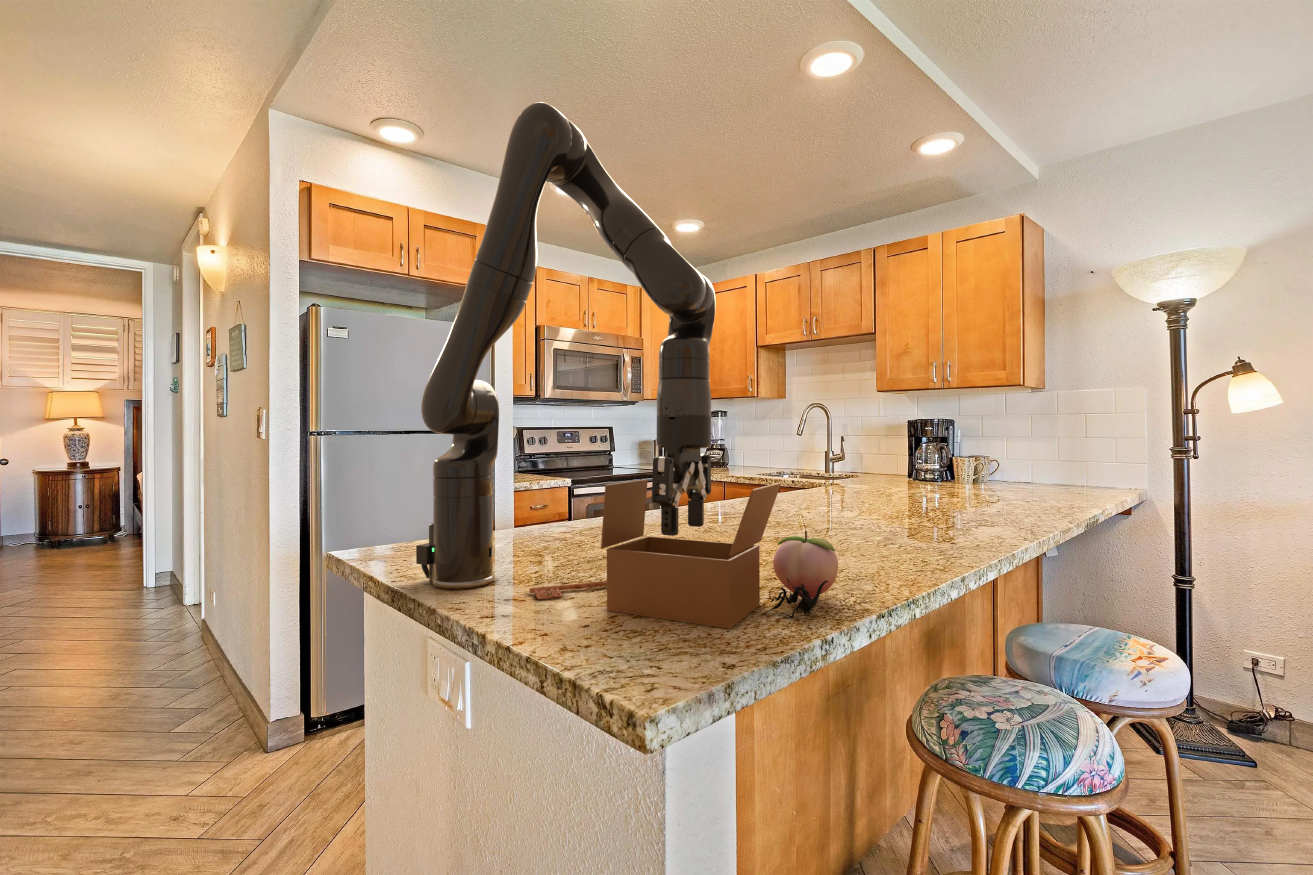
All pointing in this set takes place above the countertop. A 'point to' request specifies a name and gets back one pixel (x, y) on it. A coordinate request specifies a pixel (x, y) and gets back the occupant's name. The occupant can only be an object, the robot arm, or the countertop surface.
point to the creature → (805, 602)
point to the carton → (673, 568)
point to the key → (555, 591)
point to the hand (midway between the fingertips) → (683, 530)
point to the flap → (755, 517)
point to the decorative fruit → (806, 563)
